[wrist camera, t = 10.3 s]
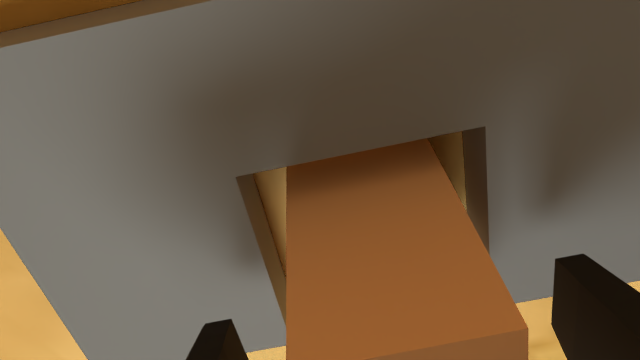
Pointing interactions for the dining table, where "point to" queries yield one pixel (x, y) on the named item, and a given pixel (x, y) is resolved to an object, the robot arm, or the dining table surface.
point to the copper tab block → (390, 264)
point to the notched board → (300, 145)
